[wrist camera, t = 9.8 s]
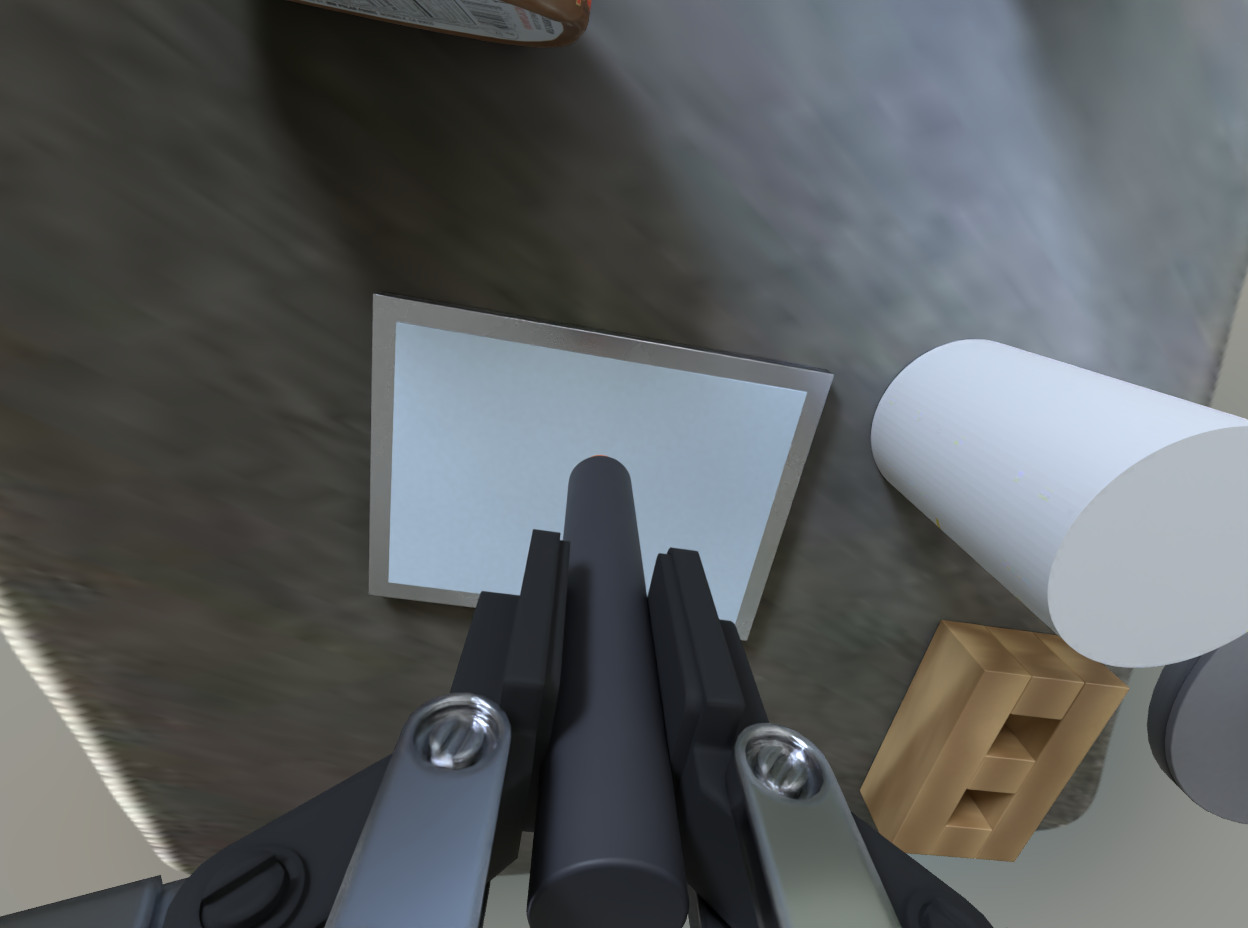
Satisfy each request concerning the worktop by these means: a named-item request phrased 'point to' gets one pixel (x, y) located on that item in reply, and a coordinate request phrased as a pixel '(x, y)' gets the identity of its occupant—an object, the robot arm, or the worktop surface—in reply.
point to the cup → (1078, 496)
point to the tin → (479, 18)
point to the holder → (986, 740)
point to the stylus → (606, 735)
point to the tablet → (572, 448)
